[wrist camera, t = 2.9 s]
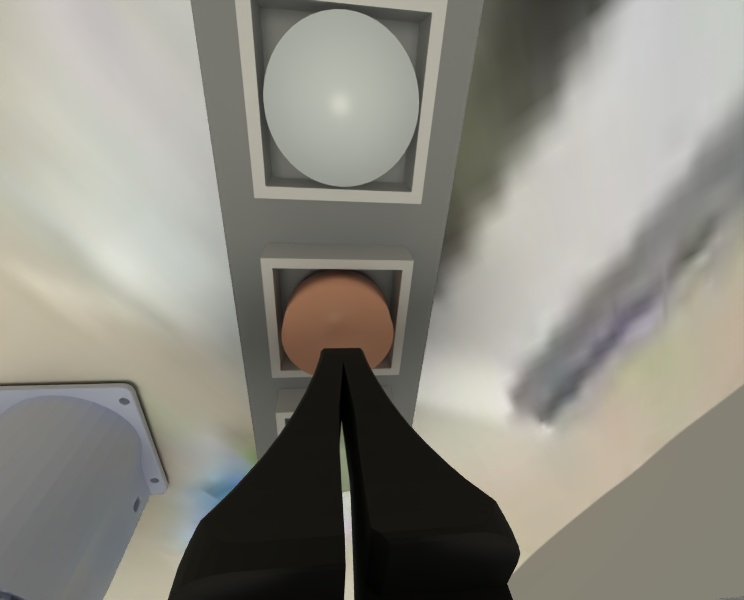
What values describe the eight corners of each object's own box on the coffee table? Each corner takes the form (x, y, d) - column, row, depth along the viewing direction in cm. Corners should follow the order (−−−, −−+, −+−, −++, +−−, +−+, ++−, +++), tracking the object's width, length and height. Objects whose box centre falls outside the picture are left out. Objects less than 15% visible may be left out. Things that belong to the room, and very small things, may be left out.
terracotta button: (383, 355, 17) (388, 378, 15) (288, 356, 16) (284, 381, 15) (391, 270, 15) (398, 288, 13) (282, 268, 14) (277, 287, 13)
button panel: (399, 440, 24) (410, 490, 21) (265, 446, 23) (255, 500, 20) (467, -14, 13) (512, -51, 10) (202, -45, 12) (156, -97, 8)
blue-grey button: (401, 179, 13) (409, 189, 11) (276, 174, 12) (269, 183, 11) (416, 28, 11) (429, 18, 9) (265, 13, 10) (255, 0, 9)
